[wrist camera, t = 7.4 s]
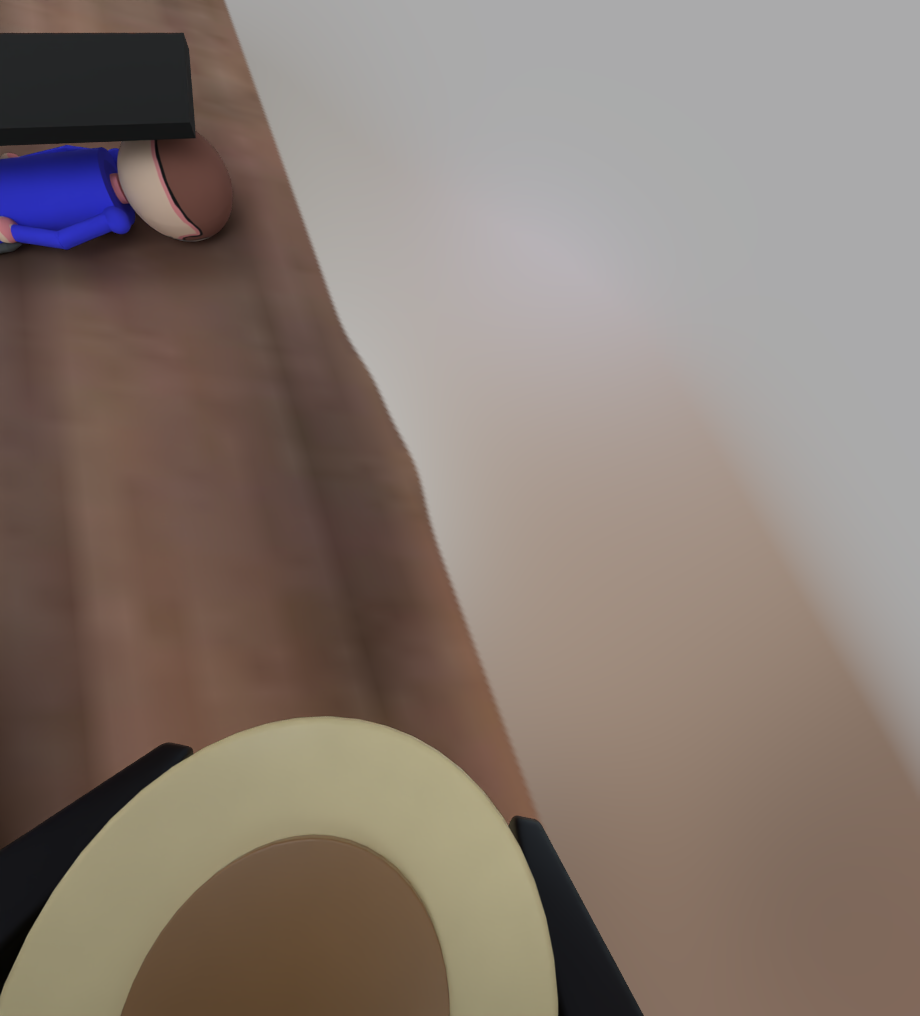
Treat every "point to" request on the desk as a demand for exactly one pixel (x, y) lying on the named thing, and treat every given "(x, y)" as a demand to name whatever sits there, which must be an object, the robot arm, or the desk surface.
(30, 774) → the desk surface
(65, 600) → the desk surface
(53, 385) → the desk surface
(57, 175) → the figurine character
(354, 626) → the desk surface
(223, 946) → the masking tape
